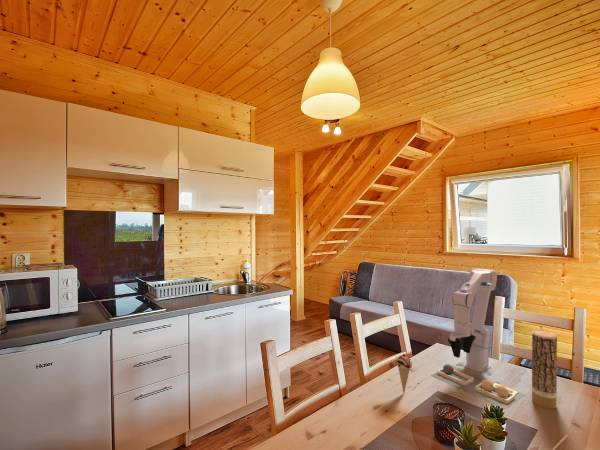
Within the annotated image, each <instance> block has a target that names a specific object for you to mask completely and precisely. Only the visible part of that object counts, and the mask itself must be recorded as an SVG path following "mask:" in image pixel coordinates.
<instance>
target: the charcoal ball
mask: <svg viewBox="0 0 600 450" xmlns="http://www.w3.org/2000/svg"><path fill="white" fill-rule="evenodd" d="M452 366H453V365H451V364H444V365H443V367H442V368H443V371H444V372H445V373H446V374H448V375H451V374H453V372H454V369H453V367H452Z"/></svg>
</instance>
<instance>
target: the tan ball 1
mask: <svg viewBox="0 0 600 450" xmlns="http://www.w3.org/2000/svg"><path fill="white" fill-rule="evenodd" d="M491 381H492V380H490V381H489V379H487V380H483V381H482V384H481V385H482V388H483V389H484V390H485V391H488V392H490V391H492V390H493V389H494V385H493V383H492V382H493V381H492V382H491Z"/></svg>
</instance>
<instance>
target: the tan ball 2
mask: <svg viewBox="0 0 600 450" xmlns="http://www.w3.org/2000/svg"><path fill="white" fill-rule="evenodd" d="M501 385H502V384H500V386H497V387H496V393H497V395H498V396H499V397H502V398H506V397H507V396H508V395H509V392H508V390H507V388H506V387H507V386H505V387H504V385H502V386H501Z"/></svg>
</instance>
